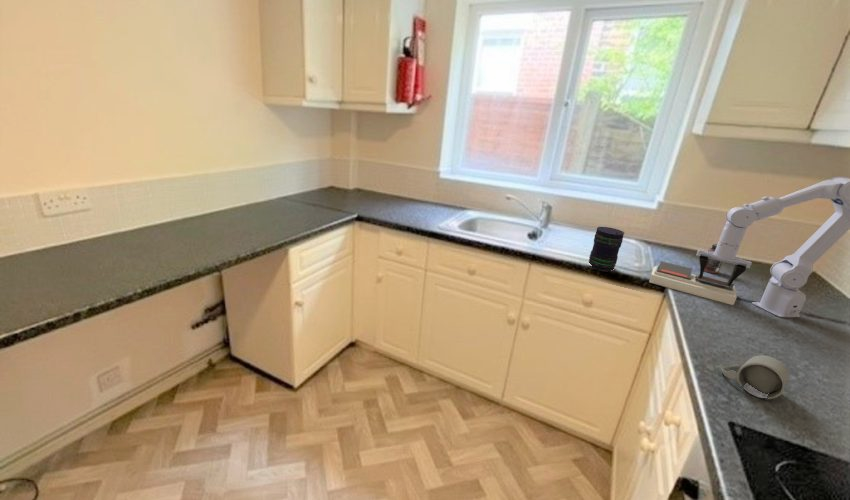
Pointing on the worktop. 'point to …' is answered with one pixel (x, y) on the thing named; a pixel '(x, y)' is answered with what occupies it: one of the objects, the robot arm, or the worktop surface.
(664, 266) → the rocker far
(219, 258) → the worktop surface
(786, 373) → the ceramic mug
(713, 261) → the supplement bottle
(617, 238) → the storage jar
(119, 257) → the worktop surface
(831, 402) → the worktop surface
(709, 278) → the rocker near
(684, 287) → the rocker switch panel
